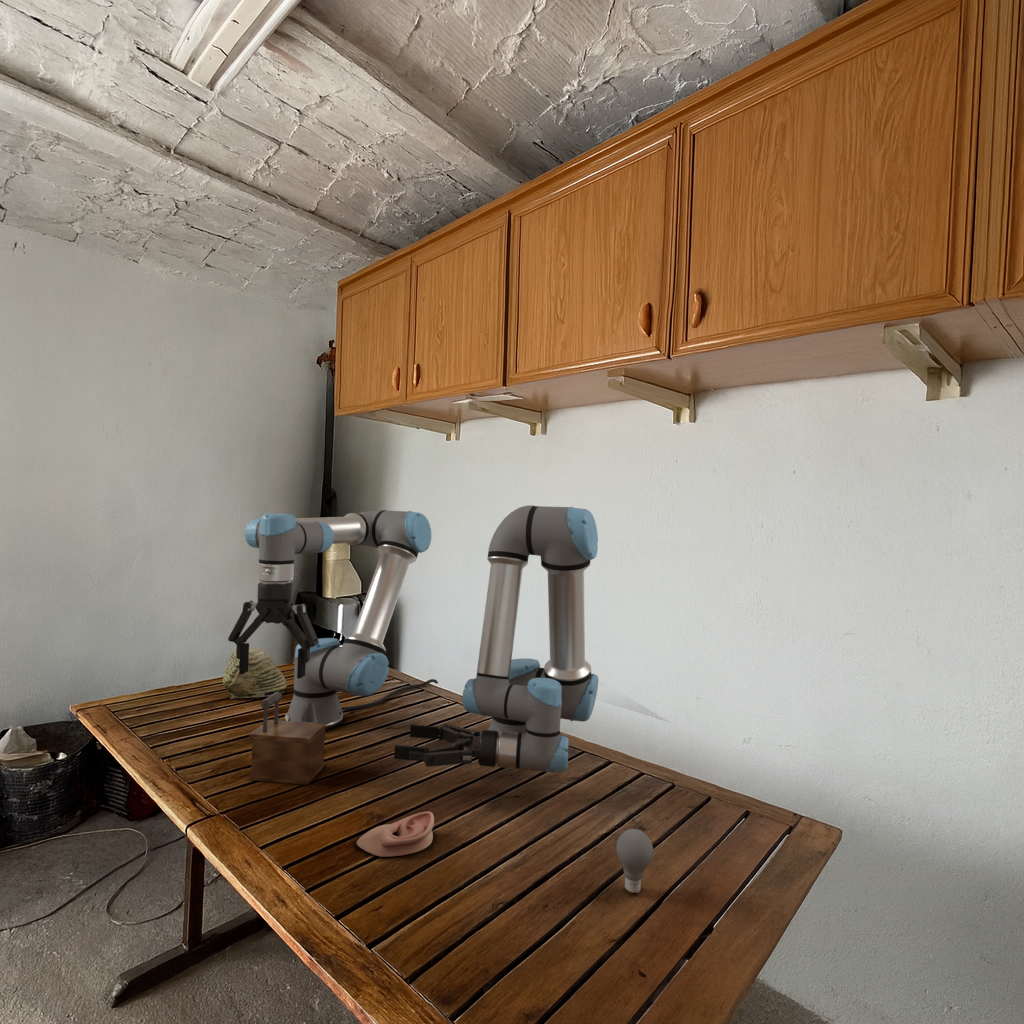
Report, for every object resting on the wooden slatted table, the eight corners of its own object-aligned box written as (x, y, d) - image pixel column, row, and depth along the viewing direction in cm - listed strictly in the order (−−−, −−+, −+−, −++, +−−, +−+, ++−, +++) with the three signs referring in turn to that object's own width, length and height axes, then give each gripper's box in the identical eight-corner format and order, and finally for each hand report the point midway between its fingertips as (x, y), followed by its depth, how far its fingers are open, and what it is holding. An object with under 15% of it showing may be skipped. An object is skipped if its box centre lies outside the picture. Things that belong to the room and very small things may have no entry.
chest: (250, 780, 140) (252, 739, 140) (270, 762, 149) (271, 724, 149) (307, 784, 139) (309, 744, 139) (323, 767, 148) (325, 728, 148)
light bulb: (610, 879, 108) (613, 822, 108) (644, 879, 109) (647, 822, 109) (619, 902, 102) (622, 840, 102) (655, 901, 103) (658, 840, 103)
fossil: (218, 695, 195) (220, 647, 195) (278, 685, 208) (279, 640, 207) (228, 703, 189) (230, 653, 188) (289, 692, 201) (290, 645, 201)
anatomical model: (349, 829, 113) (376, 800, 125) (348, 851, 113) (375, 820, 125) (420, 841, 111) (440, 810, 122) (419, 863, 111) (439, 830, 122)
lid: (249, 739, 140) (250, 701, 140) (268, 724, 149) (270, 689, 149) (309, 743, 139) (310, 705, 139) (325, 728, 148) (326, 693, 148)
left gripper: (214, 580, 141) (210, 675, 141) (322, 587, 139) (318, 683, 139) (231, 576, 148) (228, 666, 149) (335, 582, 146) (331, 674, 147)
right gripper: (490, 789, 127) (386, 780, 128) (502, 746, 151) (415, 738, 153) (492, 752, 127) (388, 743, 129) (504, 714, 152) (417, 707, 153)
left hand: (272, 674), depth 144 cm, fingers open, 13 cm apart
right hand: (402, 740), depth 141 cm, fingers open, 13 cm apart
